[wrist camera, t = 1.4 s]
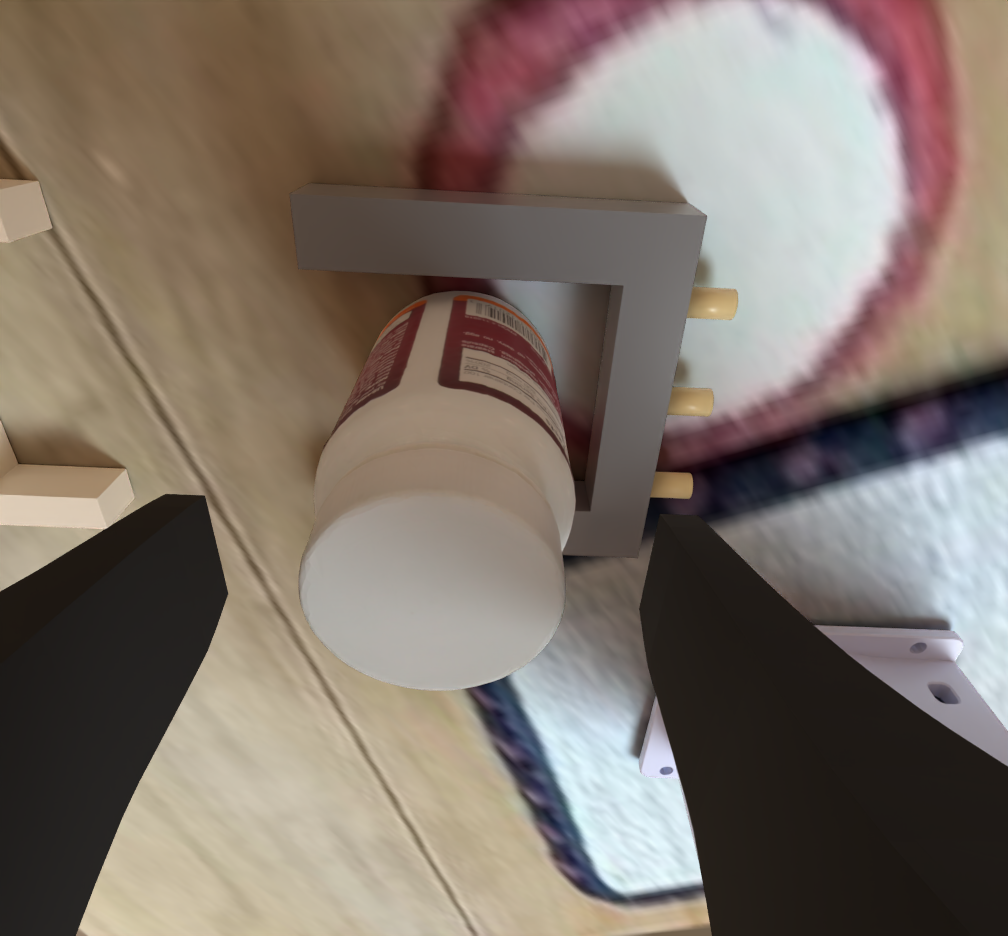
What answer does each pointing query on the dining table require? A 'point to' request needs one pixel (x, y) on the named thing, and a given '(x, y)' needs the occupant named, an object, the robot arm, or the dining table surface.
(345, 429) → the pill bottle
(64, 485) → the bracket
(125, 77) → the dining table surface
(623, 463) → the gray u-shaped bracket
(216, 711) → the dining table surface
